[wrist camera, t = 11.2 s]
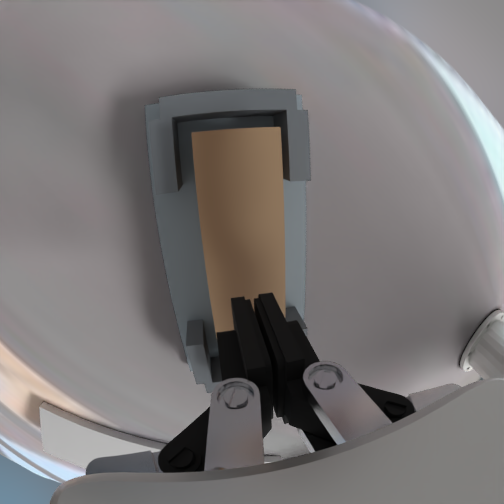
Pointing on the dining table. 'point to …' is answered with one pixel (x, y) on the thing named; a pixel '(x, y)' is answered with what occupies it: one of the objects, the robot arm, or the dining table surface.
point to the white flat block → (90, 439)
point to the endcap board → (186, 205)
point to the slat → (241, 215)
